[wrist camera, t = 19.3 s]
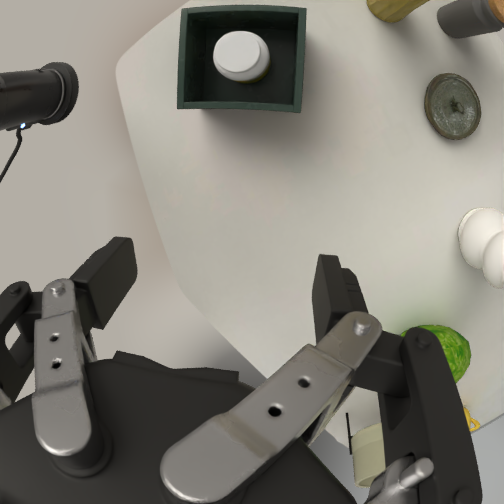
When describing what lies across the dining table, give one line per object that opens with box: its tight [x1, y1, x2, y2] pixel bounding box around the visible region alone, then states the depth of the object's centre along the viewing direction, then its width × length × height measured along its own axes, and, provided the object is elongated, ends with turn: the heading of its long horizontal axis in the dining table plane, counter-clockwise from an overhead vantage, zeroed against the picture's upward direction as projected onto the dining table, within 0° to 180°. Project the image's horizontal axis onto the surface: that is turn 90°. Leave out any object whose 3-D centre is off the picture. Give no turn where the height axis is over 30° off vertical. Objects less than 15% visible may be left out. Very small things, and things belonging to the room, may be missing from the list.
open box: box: [177, 5, 307, 113], centre depth 30 cm, size 14×13×10 cm
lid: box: [425, 73, 481, 140], centre depth 31 cm, size 11×10×5 cm
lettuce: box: [401, 325, 471, 383], centre depth 49 cm, size 17×20×17 cm
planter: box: [346, 413, 385, 488], centre depth 59 cm, size 15×16×23 cm
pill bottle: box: [213, 31, 271, 84], centre depth 29 cm, size 6×6×11 cm
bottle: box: [437, 0, 504, 38], centre depth 19 cm, size 6×6×15 cm
